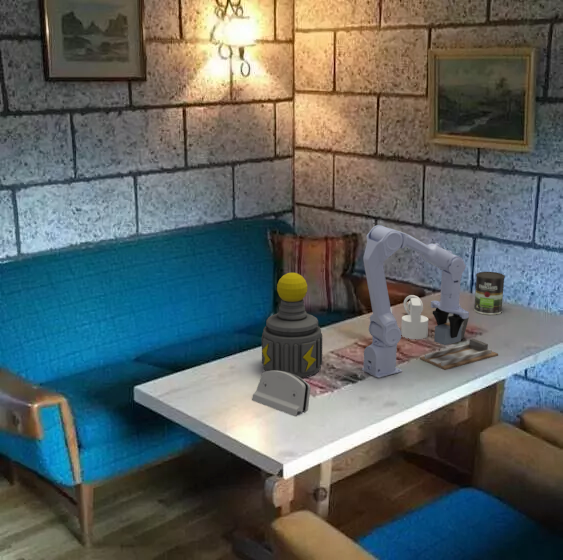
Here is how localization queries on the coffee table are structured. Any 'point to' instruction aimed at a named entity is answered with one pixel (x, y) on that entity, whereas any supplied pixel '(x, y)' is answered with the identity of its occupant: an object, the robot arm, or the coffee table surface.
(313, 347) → the grey tesla coil
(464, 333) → the electrical switch
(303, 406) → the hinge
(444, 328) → the block
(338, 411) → the coffee table surface
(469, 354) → the din rail board
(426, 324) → the cylinder with rectangular tab
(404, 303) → the ring around a ball
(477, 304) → the coffee can
